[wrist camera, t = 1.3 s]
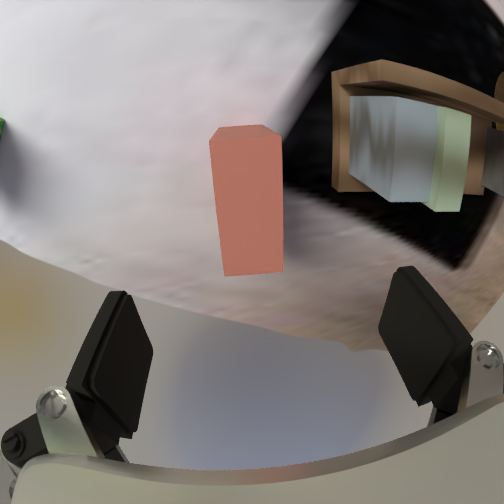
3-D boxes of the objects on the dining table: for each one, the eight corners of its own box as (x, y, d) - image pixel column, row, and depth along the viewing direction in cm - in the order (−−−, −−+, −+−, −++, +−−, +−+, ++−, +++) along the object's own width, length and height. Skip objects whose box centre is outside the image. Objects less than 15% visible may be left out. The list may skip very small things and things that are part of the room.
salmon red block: (219, 127, 24) (209, 141, 14) (261, 124, 24) (281, 136, 14) (227, 214, 28) (224, 276, 19) (265, 211, 28) (283, 271, 19)
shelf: (331, 72, 21) (390, 57, 12) (482, 108, 22) (543, 125, 12) (331, 186, 27) (380, 232, 18) (474, 190, 28) (528, 224, 18)
